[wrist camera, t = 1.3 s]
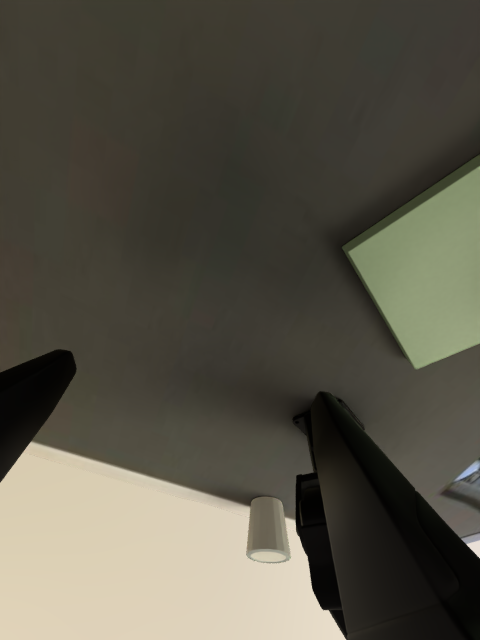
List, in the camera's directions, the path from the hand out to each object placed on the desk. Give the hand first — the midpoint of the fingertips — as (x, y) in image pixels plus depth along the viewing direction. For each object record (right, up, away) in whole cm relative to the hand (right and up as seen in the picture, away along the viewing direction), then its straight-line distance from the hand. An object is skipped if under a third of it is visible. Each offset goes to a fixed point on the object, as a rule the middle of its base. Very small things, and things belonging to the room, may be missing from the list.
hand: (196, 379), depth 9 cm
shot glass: (+6, -31, +34) cm, 46 cm away
